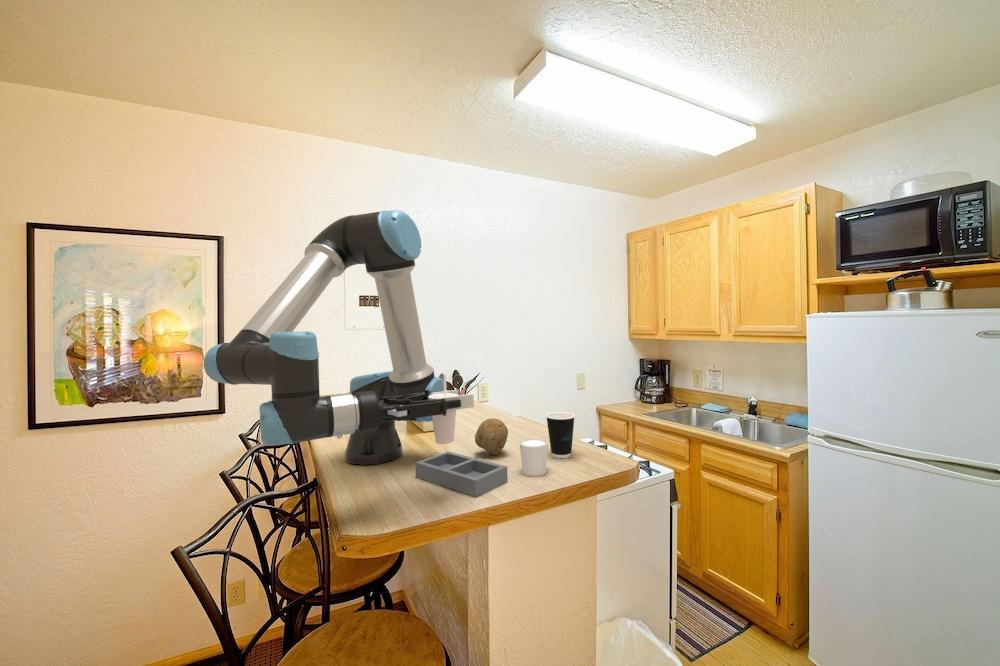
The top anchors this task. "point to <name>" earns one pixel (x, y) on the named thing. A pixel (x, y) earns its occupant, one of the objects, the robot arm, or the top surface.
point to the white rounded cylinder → (534, 457)
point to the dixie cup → (560, 433)
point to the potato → (491, 435)
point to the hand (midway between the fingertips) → (465, 398)
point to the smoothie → (444, 419)
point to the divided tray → (462, 473)
